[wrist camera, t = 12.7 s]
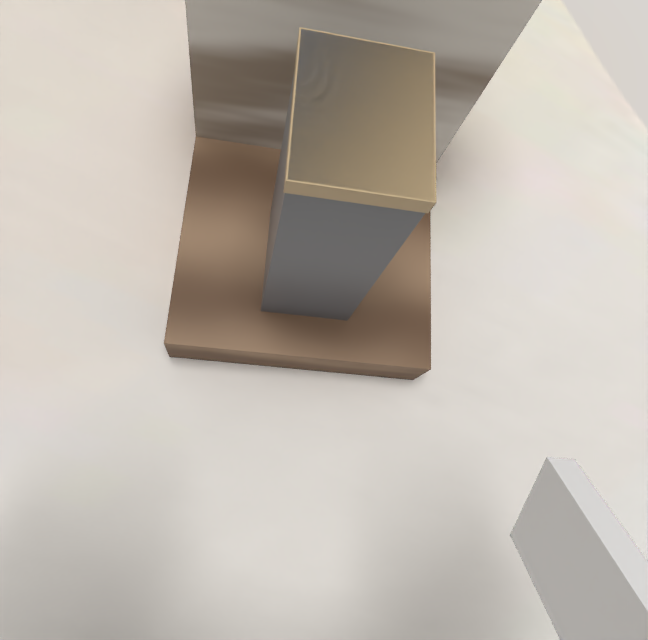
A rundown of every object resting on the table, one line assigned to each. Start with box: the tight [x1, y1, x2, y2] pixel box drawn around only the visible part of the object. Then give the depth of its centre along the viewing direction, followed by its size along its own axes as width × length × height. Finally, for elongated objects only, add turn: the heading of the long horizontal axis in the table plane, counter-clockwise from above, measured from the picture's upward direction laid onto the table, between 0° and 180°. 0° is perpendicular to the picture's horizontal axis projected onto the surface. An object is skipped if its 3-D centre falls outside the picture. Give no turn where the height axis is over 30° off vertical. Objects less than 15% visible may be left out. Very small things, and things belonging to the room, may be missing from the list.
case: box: [261, 27, 436, 320], centre depth 20 cm, size 5×4×11 cm
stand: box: [164, 0, 542, 380], centre depth 21 cm, size 16×12×17 cm
